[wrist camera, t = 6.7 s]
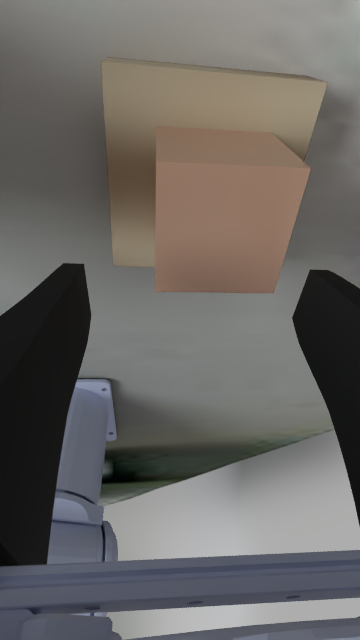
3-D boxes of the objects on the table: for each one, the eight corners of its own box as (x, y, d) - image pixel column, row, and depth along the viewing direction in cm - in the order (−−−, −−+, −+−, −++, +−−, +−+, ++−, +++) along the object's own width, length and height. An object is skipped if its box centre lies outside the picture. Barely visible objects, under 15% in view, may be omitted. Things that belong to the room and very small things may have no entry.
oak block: (258, 246, 22) (270, 271, 19) (118, 240, 21) (113, 265, 19) (303, 74, 16) (327, 82, 13) (109, 56, 15) (100, 61, 13)
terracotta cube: (249, 237, 18) (274, 293, 14) (155, 234, 17) (155, 291, 14) (270, 132, 15) (311, 168, 11) (155, 126, 14) (155, 161, 10)
